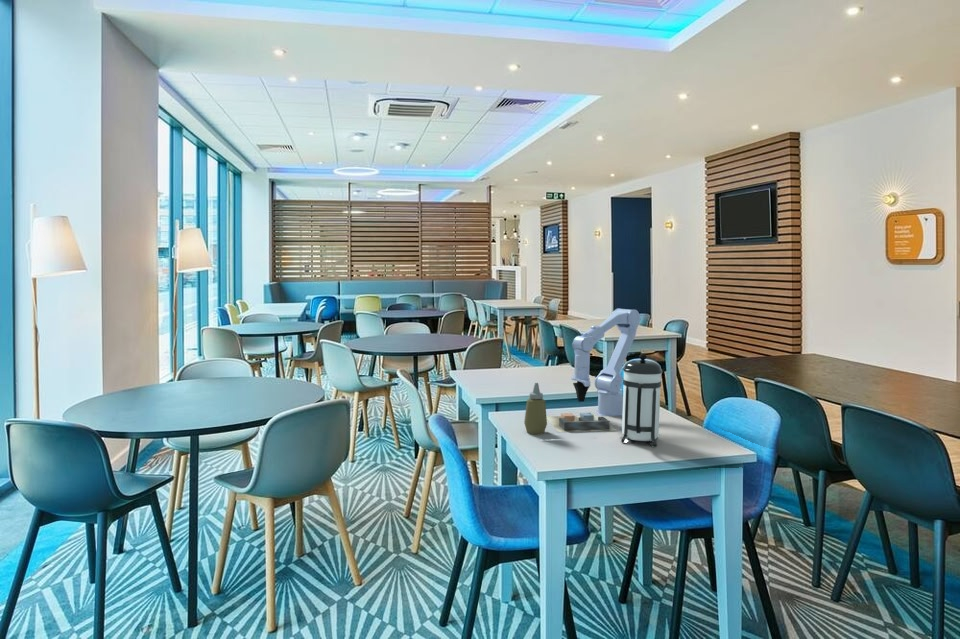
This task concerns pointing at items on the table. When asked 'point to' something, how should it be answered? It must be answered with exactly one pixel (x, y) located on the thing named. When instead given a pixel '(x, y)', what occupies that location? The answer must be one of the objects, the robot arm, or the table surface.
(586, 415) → the slate-blue plug
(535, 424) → the squeeze bottle
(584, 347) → the robot arm
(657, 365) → the coffee press
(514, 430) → the table surface
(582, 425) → the comb board
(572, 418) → the peach square block
